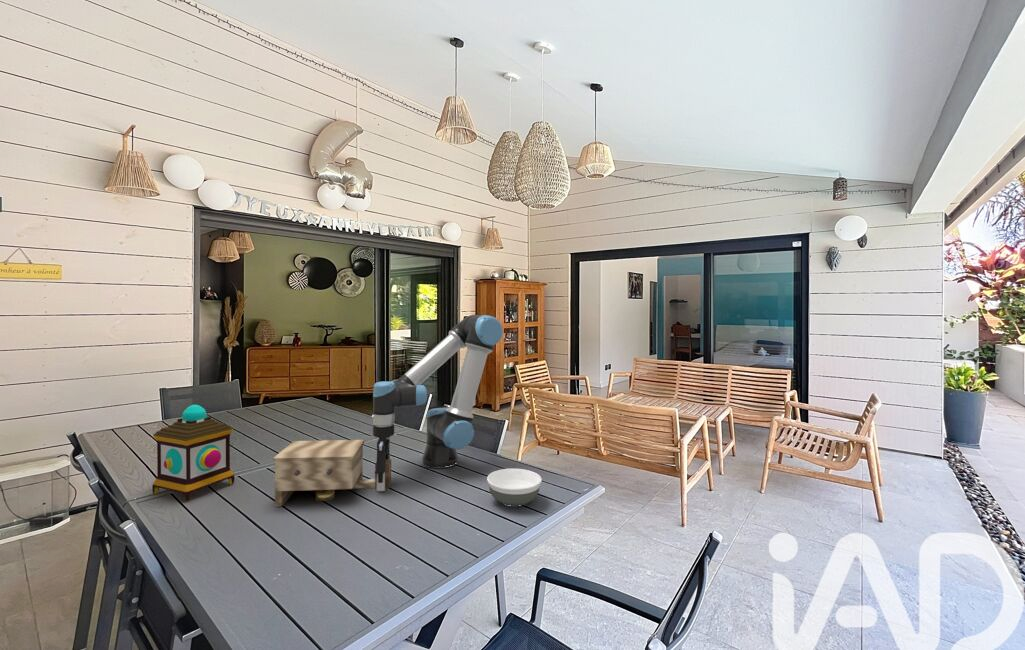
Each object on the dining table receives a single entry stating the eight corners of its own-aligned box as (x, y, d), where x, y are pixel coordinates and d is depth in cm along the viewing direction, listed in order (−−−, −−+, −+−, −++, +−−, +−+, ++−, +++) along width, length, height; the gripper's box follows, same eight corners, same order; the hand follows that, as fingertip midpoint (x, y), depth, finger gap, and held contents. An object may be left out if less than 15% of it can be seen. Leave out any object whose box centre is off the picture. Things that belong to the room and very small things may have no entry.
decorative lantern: (144, 495, 153) (143, 407, 152) (202, 475, 171) (202, 397, 170) (185, 505, 146) (184, 413, 145) (241, 483, 164) (240, 401, 163)
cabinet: (364, 482, 168) (364, 439, 167) (352, 505, 148) (352, 457, 147) (293, 484, 164) (293, 441, 164) (271, 508, 145) (271, 459, 144)
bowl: (501, 518, 141) (501, 492, 140) (477, 496, 157) (478, 472, 157) (551, 507, 149) (552, 483, 149) (524, 487, 166) (525, 465, 166)
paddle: (391, 483, 167) (391, 459, 167) (389, 488, 162) (389, 463, 162) (315, 485, 164) (315, 460, 164) (310, 490, 159) (310, 465, 159)
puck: (336, 493, 157) (336, 486, 157) (332, 500, 151) (332, 494, 151) (318, 494, 156) (318, 487, 156) (313, 502, 150) (313, 495, 150)
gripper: (378, 417, 174) (377, 474, 175) (367, 432, 152) (366, 498, 153) (397, 417, 175) (397, 474, 176) (390, 432, 153) (389, 497, 154)
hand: (382, 485), depth 165 cm, fingers open, 9 cm apart
